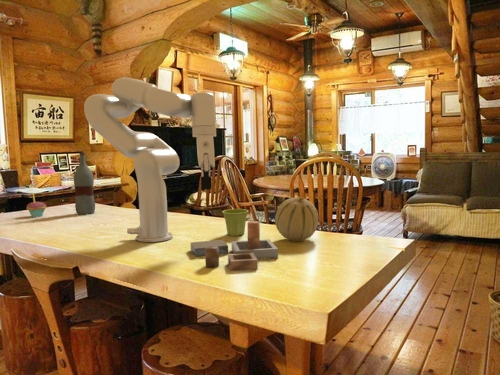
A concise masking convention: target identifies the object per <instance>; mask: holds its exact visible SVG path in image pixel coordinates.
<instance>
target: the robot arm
mask: <svg viewBox="0 0 500 375" xmlns="http://www.w3.org/2000/svg"><path fill="white" fill-rule="evenodd" d="M111 91H112V94H113V95H112V94H105V93H96V94H92V95H90V96H88V97H87V98H86V99H85V101H84V105H83V107H84V108H83V109H84V116H85V118H86V120H87V122H88V124H89V125H90V126H91V128H92V129H93V130H94V131H95V132H96V133H97V134H99V135H100V136H101V137H103V138H104V139H105V140H106V141H107V142H108V143H109V144H110V145H111V146H113V147H114V148H115V149H116V150H117V151H118V152H120V154H122V155H123V156H124V157H126V158H129V159H134V160H133V167H134V171H135V175H136V180H137V191H138V192H137V193H138V208H139V209H138V211H139V226H137V227H136V228H135V227H134V228H133V227H130V228H127V229H126V230H127V231H126V232H127V234H128V235H136V236H135V240H136V241H137V242H141V243H157V242H163V241H164V242H165V241H167V240H172V239H173V233H172V232H169V227H168V226H169V225H168V200H167V185H166V182H165V180H164V178H163V175H164V176H167V175H171V174H174V173H175V172H176V171H177V170H178V169H179V167H180V161H181V160H180V157H179V155H178V153H177V152H176V151H175V150H174V149H173V148H172V147H171V146H170V145H168V144H167V143H166V142H165V141H164V140H162V138H159V136H157V135H155V134H154V133H152V132H148V131H134V130H132V129H131V128H130V127H128V126H127V125H126V124H125V123H124V122H122V120H123V119H126V118H128V117H130V116H131V115H133V114H134V113H135V112H136V111H138V110H139V109H141V108H143V109H146V110H148V111H150V112H153V113H157V114H160V115H163V116H166V117H173V118H183V119H184V118H185V119H190V118H191V123H192V124H191V126H192V128H191V129H192V138H196V149H197V150H196V152H197V153H196V154H197V163H198V166H199V168H200V169H201V170H200V171H201V172H200V173H201V176H200V184H201V186H200V188H201V189H200V190H202V191H205V190H207V191H208V190H212V177H211V168H215V167H216V161H215V158H216V157H215V146H214V145H215V144H214V143H215V142H214V141H215V140H214V137H217V124H216V122H217V121H216V119H217V116H216V98H215V95H214V94H213V93H212V92H205V91H203V92H201V91H200V92H195V93H193V94H192V95H191V94H185V93H180V92H173V91H168V90H164V89H161V88H158V87H157V85H155V84H153V83H149V82H146V81H145V80H142V79H137V78H132V77H127V76H126V77H125V76H123V77H118V78H117V79H114V81H113V83H112V85H111ZM121 119H122V120H121Z"/></svg>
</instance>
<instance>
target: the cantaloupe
mask: <svg viewBox="0 0 500 375" xmlns="http://www.w3.org/2000/svg"><path fill="white" fill-rule="evenodd" d="M274 216H275V217H274V218H275V220H274V222H275V227H276V230H277V231H278V233H279V234H280V235H281V236H282V237H283V238H284V239H287V240H290V241H294V242H303V241H305V240H308V239H310V238H311V237H312V236H313V235H314V234H315V232H316V230H317V228H318V224H319V220H320V219H319V213H318V210H317V208H316V207H315V204H313V203H312V202H311V201H310V200H308V199H306V198H304V197H303V196H301V197H290V198H288V199H286V200H284V201H283V202H281V204H280V205H279V206H278V208H277V209H276V211H275V215H274Z"/></svg>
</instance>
